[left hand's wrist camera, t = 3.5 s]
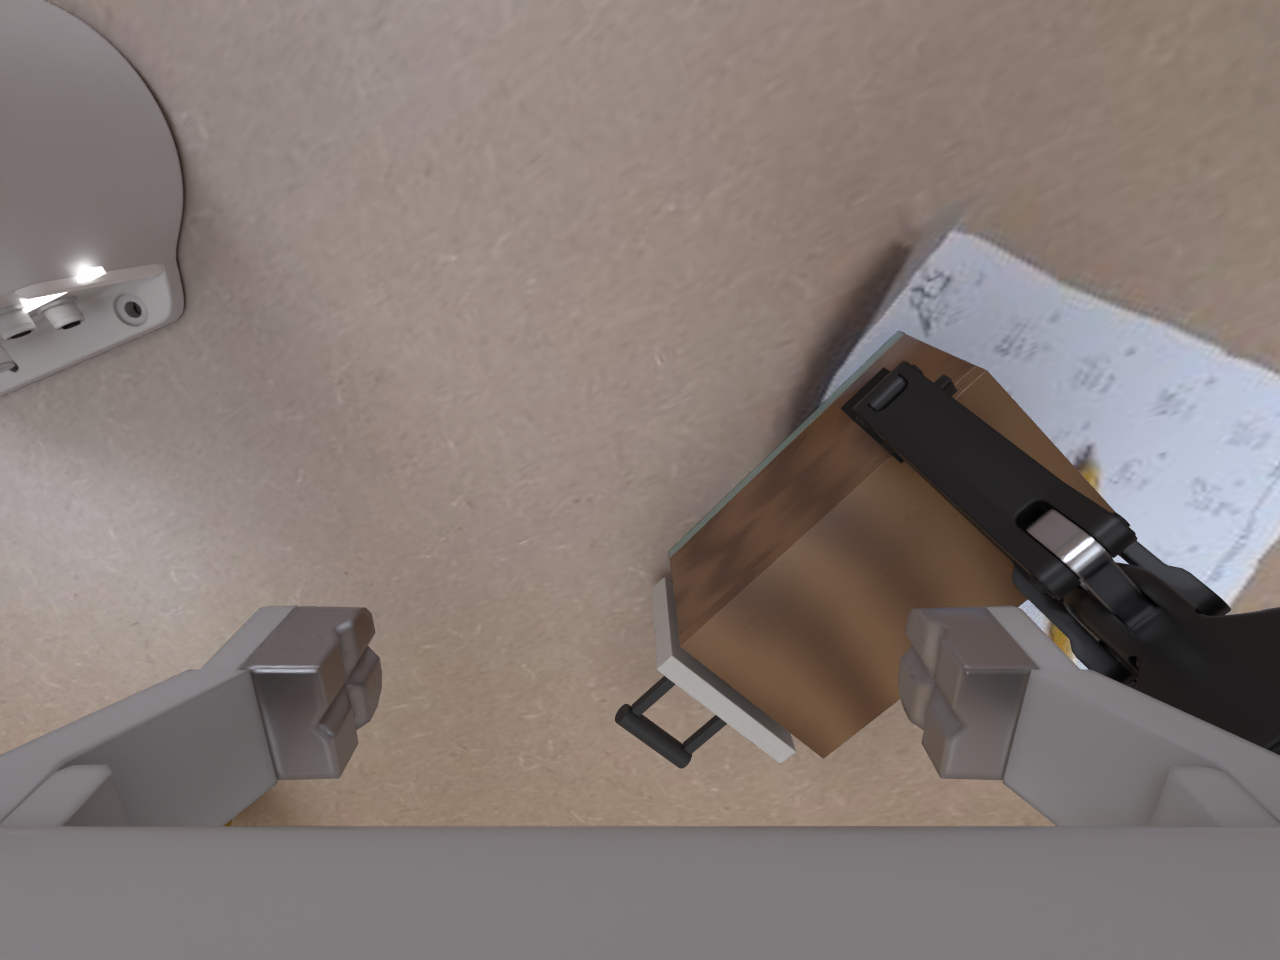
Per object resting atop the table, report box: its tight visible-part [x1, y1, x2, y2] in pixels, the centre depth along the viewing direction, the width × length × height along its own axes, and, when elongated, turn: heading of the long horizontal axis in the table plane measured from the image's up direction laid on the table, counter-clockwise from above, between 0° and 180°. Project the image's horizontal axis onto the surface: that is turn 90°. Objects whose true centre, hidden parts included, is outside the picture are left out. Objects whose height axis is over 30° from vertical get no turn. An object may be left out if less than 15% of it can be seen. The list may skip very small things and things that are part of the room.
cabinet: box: [669, 331, 1115, 758], centre depth 37 cm, size 19×11×10 cm, turn 137°
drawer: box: [615, 577, 796, 768], centre depth 39 cm, size 23×10×8 cm, turn 137°
